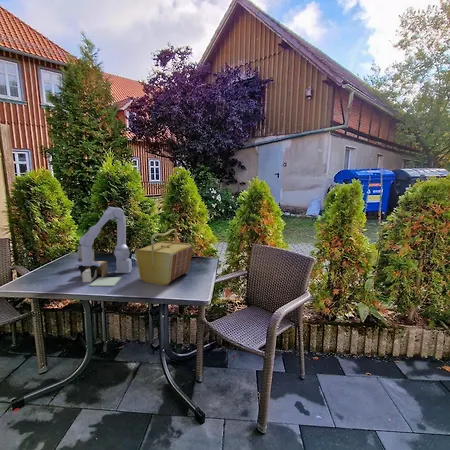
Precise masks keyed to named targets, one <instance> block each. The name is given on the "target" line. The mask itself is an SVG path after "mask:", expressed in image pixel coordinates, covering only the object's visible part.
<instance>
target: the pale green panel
mask: <svg viewBox="0 0 450 450" xmlns="http://www.w3.org/2000/svg"><path fill="white" fill-rule="evenodd" d="M97 277H98V276H97ZM97 277H96V278H95V279H94V280H93V281H91V282H90V284H89V285H88V286H89V287H114V286H115V285H117V284H118V282H119V281H121V279H122V277H120V276H119V277H116V276H115V277H114V276H113V277H111V276H110V277H107V276H105V277H102V276H99V277H98V278H97Z"/></svg>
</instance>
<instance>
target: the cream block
mask: <svg viewBox="0 0 450 450" xmlns="http://www.w3.org/2000/svg"><path fill="white" fill-rule="evenodd" d="M82 277H83V278H82V283H92V282H93V281H95V280H96V279H97V277H98V274H97V273H96V270H95V274H94V277H93V278H91V270H90V268H88V269H87V270H85V271H84V272H82Z"/></svg>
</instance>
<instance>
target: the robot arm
mask: <svg viewBox="0 0 450 450" xmlns="http://www.w3.org/2000/svg"><path fill="white" fill-rule="evenodd" d="M109 220H115V221H116V223H117V225H116V226H117V227H116V239H117V240H116V245H115V246H114V251H113V256H114V257H115V258H116V259H115V260H116V261H115V262H116V270H115V271H114V274H130V272H132V270H133V267H132V264H133V263H132V259H131V258H130V251H129V247H128V246H127V244H126V243H127V218H126V215H125V211H124V210H123V209H122V208H120V207H114V206H109V207H107V208H106V210H104V213H103V214H102V216H101V217H100V218H99V220H98V222H97V223H95V225H93V226H90V227H89V228H88V231H87V232H86V233H85V234H84V235H82V236H81V237H80V238H79V241H78V242H79V245H81V248H82V262H78V261H77V262H74V267H78V268H77V269H78V270H79V272H81V274H82V272H84V271H85V268H86V266H92V267H90V270H91V278H93V277H94V274H95V270H96V268H97V266H100V263H99V262H93V258H92V244H93V245H94V242H95V241H94V240H95V239H97V236H99V234H100V232H101V229H102V228H103V226H105V225H106V223H107V222H108V221H109ZM81 274H80V275H81Z"/></svg>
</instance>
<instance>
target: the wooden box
mask: <svg viewBox="0 0 450 450" xmlns="http://www.w3.org/2000/svg"><path fill="white" fill-rule="evenodd" d="M93 262H99V263H100V266H97V268H96V273H97V275H101V277H107V275H108V274H109V272H108V270H109V268H108V267H109V266H108V261H107V260H105V261H103V260H100V261H99V260H97V261H95V260H94V261H93ZM90 267H92V266H86V268H85V270H87V269H88V268H90ZM79 272H80V271H79ZM80 278H81V279H83V277H82V274H81V272H80Z"/></svg>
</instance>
